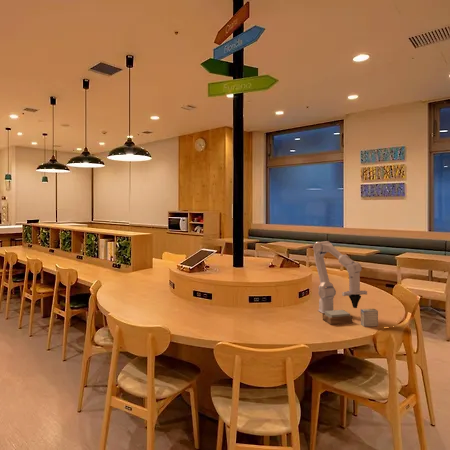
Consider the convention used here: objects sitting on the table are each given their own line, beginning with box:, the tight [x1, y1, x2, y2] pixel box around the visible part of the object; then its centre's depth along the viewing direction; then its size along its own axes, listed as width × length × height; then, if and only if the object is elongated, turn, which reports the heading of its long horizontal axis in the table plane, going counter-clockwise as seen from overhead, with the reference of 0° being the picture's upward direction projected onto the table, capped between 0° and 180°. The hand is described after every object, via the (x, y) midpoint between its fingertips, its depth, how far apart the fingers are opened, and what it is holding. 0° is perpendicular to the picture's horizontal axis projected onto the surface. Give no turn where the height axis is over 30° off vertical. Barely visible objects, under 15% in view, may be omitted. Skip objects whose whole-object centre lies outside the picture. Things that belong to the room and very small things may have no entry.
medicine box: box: [360, 308, 379, 328], centre depth 195 cm, size 8×4×9 cm, turn 92°
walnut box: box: [322, 313, 353, 326], centre depth 203 cm, size 10×13×4 cm
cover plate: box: [325, 309, 351, 318], centre depth 203 cm, size 8×11×2 cm
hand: (354, 307), depth 205 cm, fingers closed
